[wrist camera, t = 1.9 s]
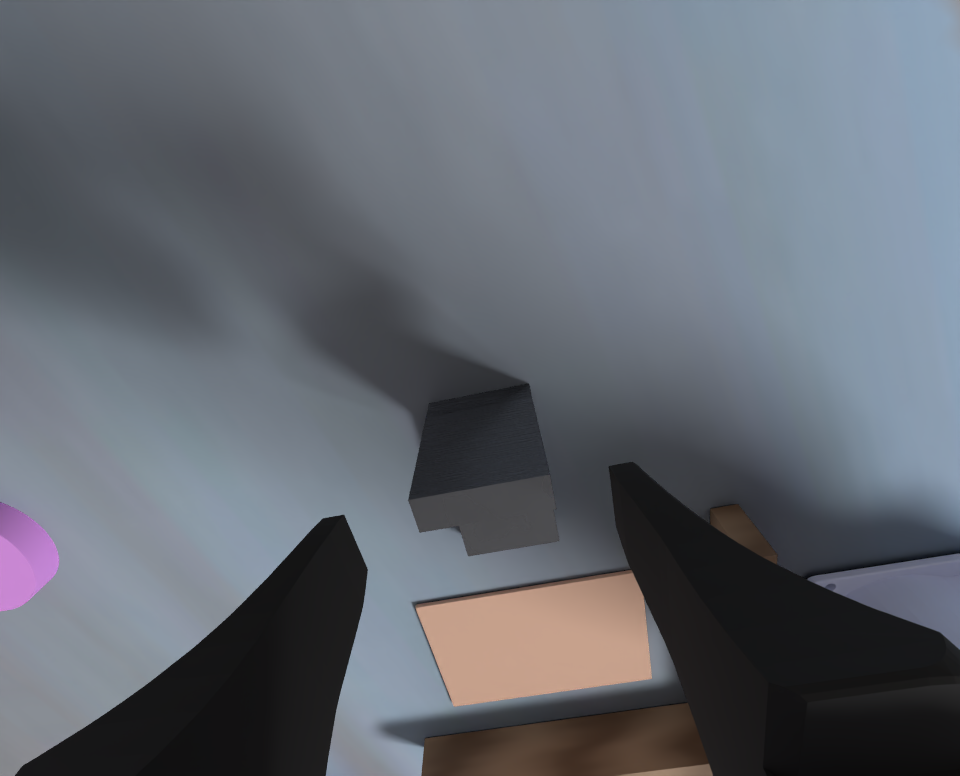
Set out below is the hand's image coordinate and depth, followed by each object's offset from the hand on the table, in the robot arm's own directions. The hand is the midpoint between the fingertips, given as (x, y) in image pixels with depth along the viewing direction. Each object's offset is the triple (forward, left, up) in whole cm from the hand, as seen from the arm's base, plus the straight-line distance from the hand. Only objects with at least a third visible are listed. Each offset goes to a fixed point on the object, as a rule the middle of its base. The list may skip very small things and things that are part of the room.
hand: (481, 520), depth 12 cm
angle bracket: (0, +3, -7) cm, 7 cm away
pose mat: (0, +14, -7) cm, 16 cm away
